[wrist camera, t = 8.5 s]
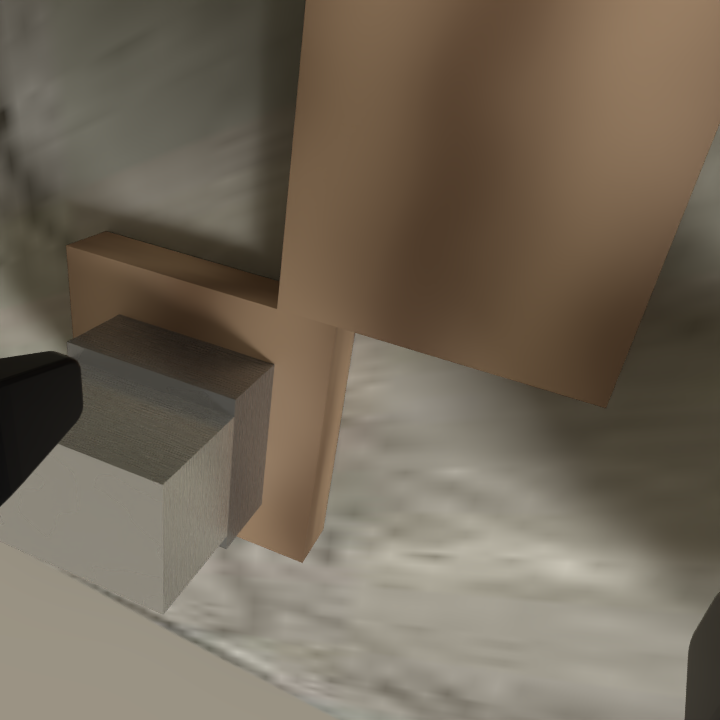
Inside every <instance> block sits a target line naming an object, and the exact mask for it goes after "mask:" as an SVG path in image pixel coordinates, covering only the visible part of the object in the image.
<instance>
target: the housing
mask: <svg viewBox="0 0 720 720" xmlns="http://www.w3.org/2000/svg"><path fill="white" fill-rule="evenodd" d="M67 350H68V356H70V357H72V358H74V359H76V360H77V361H78V363H79V364H80V367H81V375H82V389H83V403H84V405H83V411H82V414H81V416H80V418H79V420H78V421H77V423H76V424H75V425H74V426H73V427H72V428H71V429H70V431H69V432H68V433H67V434H66V435H65V436H64V437H63V439H62V440H61V441H60V442H59V443H58V444H57V445H56V446H55V448H54V449H53V450H52V451H51V452H50V453H49V454H48V456H47V457H46V458H45V459H44V460H43V461H42V462H41V464H40V465H39V466H38V467H37V468H36V469H35V470H34V472H33V473H32V474H31V475H30V476H29V477H28V478H27V479H26V481H25V482H24V483H23V484H22V485H21V486H20V487H19V488H18V489H17V491H16V492H15V493H14V494H13V495H12V496H11V497H10V498H9V499H8V500H7V501H6V502H5V503H4V504H3V505H2V506H1V507H0V542H2V543H4V544H7V545H9V546H11V547H13V548H16V549H18V550H20V551H22V552H25V553H27V554H29V555H31V556H33V557H36V558H38V559H40V560H42V561H45V562H47V563H49V564H51V565H54V566H56V567H58V568H60V569H62V570H65V571H67V572H69V573H71V574H74V575H76V576H78V577H80V578H83V579H85V580H87V581H89V582H91V583H94V584H96V585H98V586H100V587H103V588H105V589H107V590H109V591H112V592H114V593H116V594H118V595H120V596H123V597H125V598H127V599H129V600H132V601H134V602H136V603H138V604H141V605H143V606H145V607H147V608H149V609H152V610H154V611H156V612H158V613H161V614H164V613H165V612H166V611H167V610H168V608H169V607H170V606H171V605H172V603H173V602H174V601H175V600H176V598H177V597H178V596H179V595H180V593H181V592H182V591H183V590H184V589H185V587H186V586H187V585H188V584H189V582H190V581H191V580H192V579H193V577H194V576H195V575H196V574H197V573H198V571H199V570H200V569H201V568H202V566H203V565H204V564H205V563H206V561H207V560H208V559H209V558H210V556H211V555H212V554H213V553H214V552H215V550H216V549H217V548H218V547H219V546H220V547H222V548H225V549H227V548H228V546H229V545H230V544H231V543H232V541H233V540H234V539H235V537H236V536H237V535H238V534H239V532H240V531H241V530H242V529H243V527H244V526H245V525H246V524H247V522H248V521H249V520H250V518H251V517H252V516H253V515H254V513H255V512H256V511H257V510H258V508H259V507H260V506H261V505H262V495H263V484H264V474H265V463H266V452H267V441H268V431H269V420H270V409H271V398H272V388H273V377H274V366H275V364H273V363H269V362H266V361H263V360H260V359H257V358H254V357H251V356H248V355H245V354H242V353H239V352H235V351H232V350H229V349H226V348H223V347H220V346H217V345H214V344H211V343H208V342H204V341H201V340H198V339H195V338H192V337H189V336H186V335H183V334H180V333H177V332H173V331H170V330H167V329H164V328H161V327H158V326H155V325H152V324H149V323H146V322H142V321H139V320H136V319H133V318H130V317H127V316H124V315H121V314H119V315H117V316H115V317H113V318H111V319H109V320H108V321H106V322H104V323H102V324H100V325H98V326H96V327H94V328H92V329H91V330H89V331H87V332H85V333H83V334H81V335H79V336H77V337H75V338H74V339H72V340H70V341H68V342H67Z"/></svg>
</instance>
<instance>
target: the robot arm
mask: <svg viewBox="0 0 720 720" xmlns="http://www.w3.org/2000/svg"><path fill="white" fill-rule="evenodd" d="M83 405H84V403H83V389H82V375H81V367H80V364H79V363H78V361H77V360H76V359H74V358H72V357H70V356H67V355H64V354H61V353H58V352H54V351H47V352H40V353H33V354H27V355H20V356H14V357H7V358H0V507H1V506H2V505H3V504H4V503H5V502H6V501H7V500H8V499H9V498H10V497H11V496H12V495H13V494H14V493H15V492H16V491H17V489H18V488H19V487H20V486H21V485H22V484H23V483H24V482H25V481H26V479H27V478H28V477H29V476H30V475H31V474H32V473H33V472H34V470H35V469H36V468H37V467H38V466H39V465H40V464H41V462H42V461H43V460H44V459H45V458H46V457H47V456H48V454H49V453H50V452H51V451H52V450H53V449H54V448H55V446H56V445H57V444H58V443H59V442H60V441H61V440H62V439H63V437H64V436H65V435H66V434H67V433H68V432H69V431H70V429H71V428H72V427H73V426H74V425H75V424H76V423H77V421H78V420H79V418H80V416H81V414H82V411H83ZM685 720H720V592H719V593H718V594H717V595H716V597H715V598H714V600H713V602H712V603H711V605H710V607H709V608H708V610H707V612H706V613H705V615H704V617H703V618H702V620H701V622H700V623H699V625H698V627H697V628H696V630H695V632H694V634H693V636H692V638H691V642H690V645H689V651H688V667H687V686H686V704H685Z"/></svg>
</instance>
